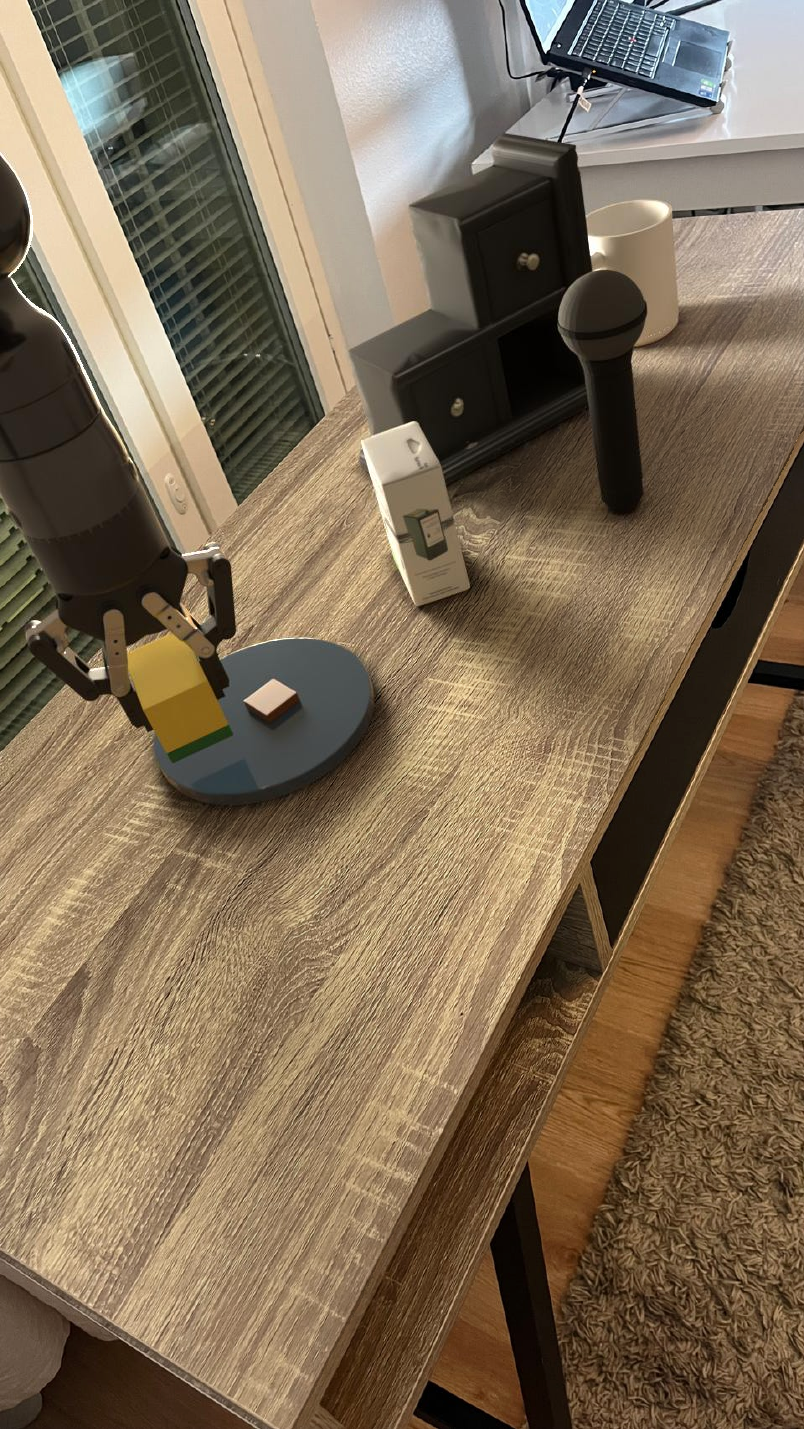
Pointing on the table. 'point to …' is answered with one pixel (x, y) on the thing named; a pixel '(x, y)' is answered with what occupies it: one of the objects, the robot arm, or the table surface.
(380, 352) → the small black cabinet
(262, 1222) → the table surface
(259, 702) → the orange brown flat block
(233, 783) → the plate
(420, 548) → the ink box
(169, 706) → the sponge
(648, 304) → the mug
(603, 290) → the microphone
